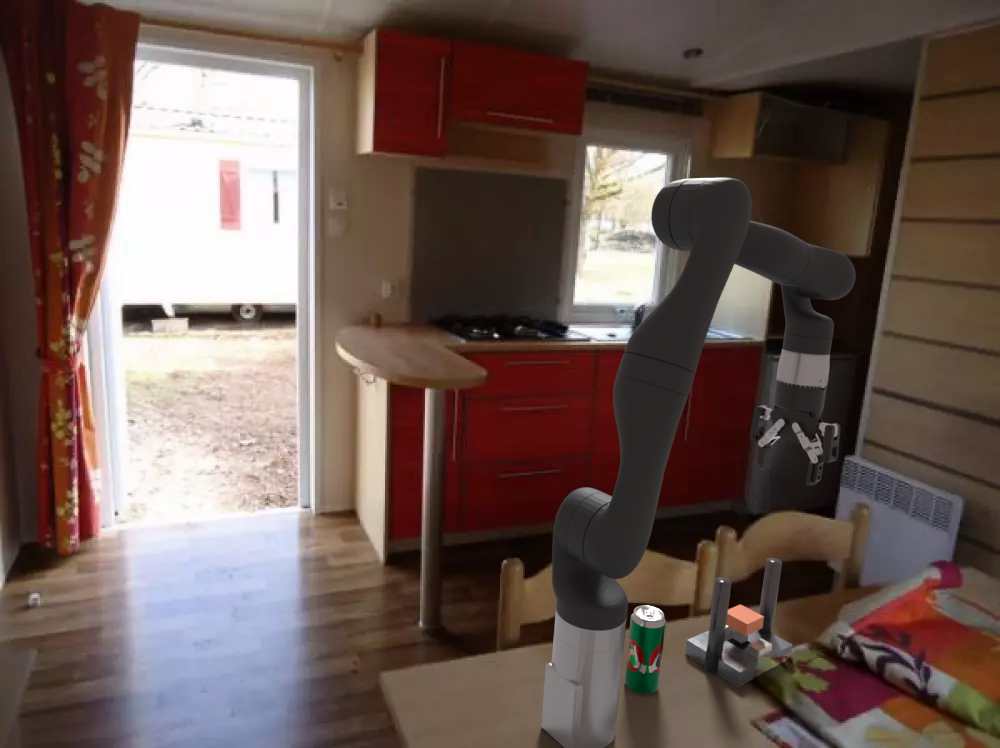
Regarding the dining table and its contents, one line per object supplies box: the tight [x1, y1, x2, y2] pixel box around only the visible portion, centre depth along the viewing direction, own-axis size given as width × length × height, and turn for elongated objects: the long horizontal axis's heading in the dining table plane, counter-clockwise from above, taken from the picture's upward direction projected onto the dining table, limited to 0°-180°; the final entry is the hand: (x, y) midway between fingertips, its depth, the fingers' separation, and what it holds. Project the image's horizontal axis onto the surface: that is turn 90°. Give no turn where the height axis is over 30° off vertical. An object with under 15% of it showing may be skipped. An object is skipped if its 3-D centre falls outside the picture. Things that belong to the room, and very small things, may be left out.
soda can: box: [624, 605, 667, 696], centre depth 105 cm, size 5×5×12 cm
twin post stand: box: [685, 557, 794, 688], centre depth 114 cm, size 16×10×15 cm, turn 126°
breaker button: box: [726, 604, 764, 643], centre depth 114 cm, size 4×4×4 cm
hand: (787, 476), depth 117 cm, fingers open, 8 cm apart
